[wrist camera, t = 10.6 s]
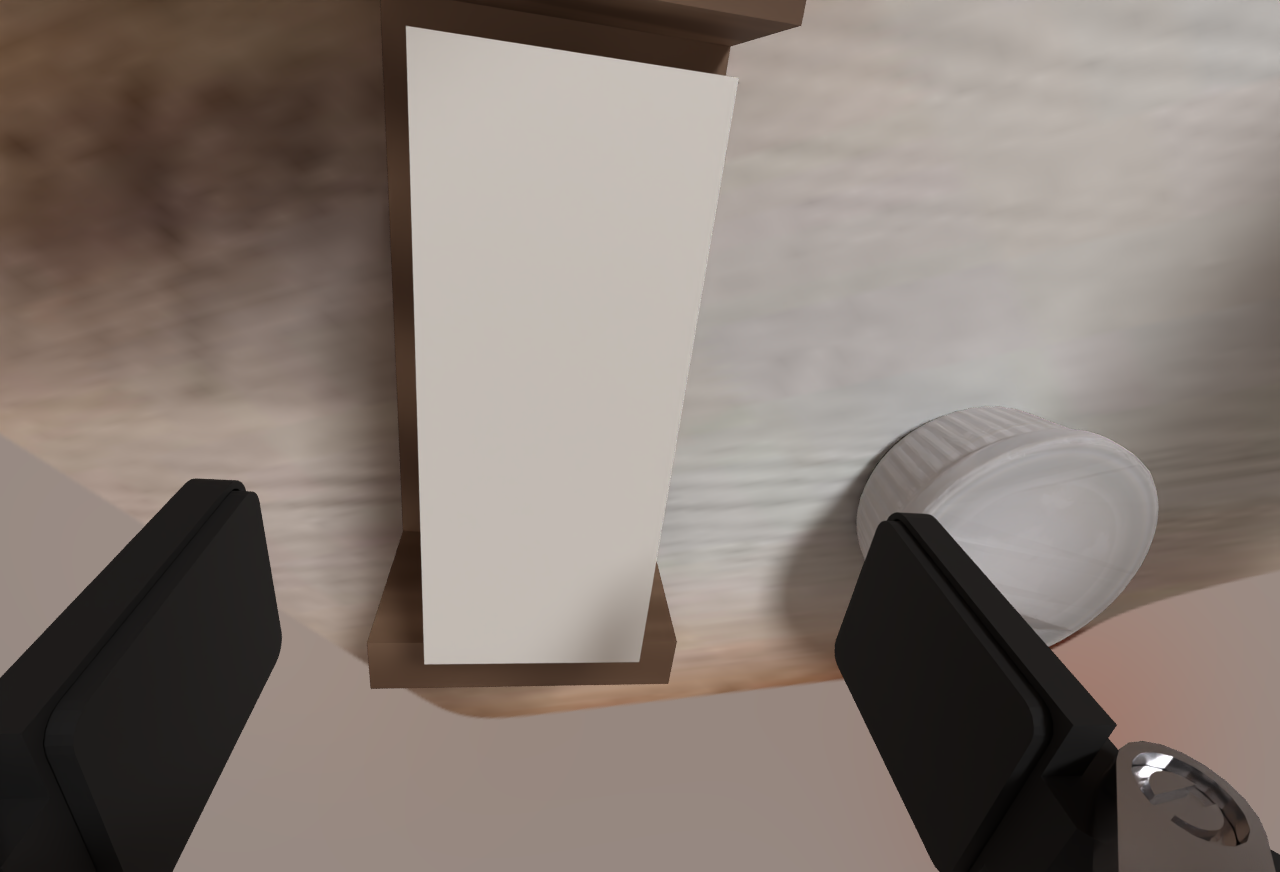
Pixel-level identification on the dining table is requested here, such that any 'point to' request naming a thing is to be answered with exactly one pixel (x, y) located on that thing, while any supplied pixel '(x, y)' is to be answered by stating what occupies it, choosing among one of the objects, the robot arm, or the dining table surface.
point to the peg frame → (455, 3)
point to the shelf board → (551, 334)
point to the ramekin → (1024, 508)
